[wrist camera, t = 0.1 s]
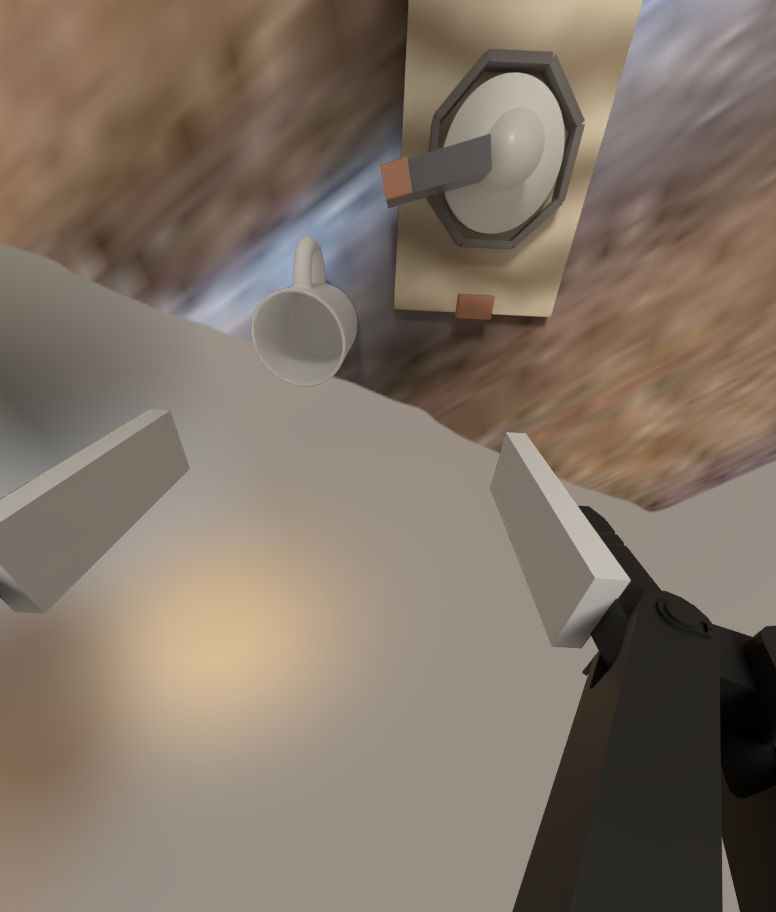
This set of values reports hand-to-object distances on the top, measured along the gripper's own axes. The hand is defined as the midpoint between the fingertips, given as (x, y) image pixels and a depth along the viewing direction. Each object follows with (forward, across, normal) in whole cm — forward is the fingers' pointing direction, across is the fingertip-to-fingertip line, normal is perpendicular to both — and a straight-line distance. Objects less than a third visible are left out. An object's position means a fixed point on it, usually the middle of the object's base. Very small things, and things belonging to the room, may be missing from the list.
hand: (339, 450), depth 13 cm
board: (+28, +10, +14) cm, 33 cm away
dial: (+27, +7, +14) cm, 31 cm away
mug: (+28, -6, +2) cm, 29 cm away
